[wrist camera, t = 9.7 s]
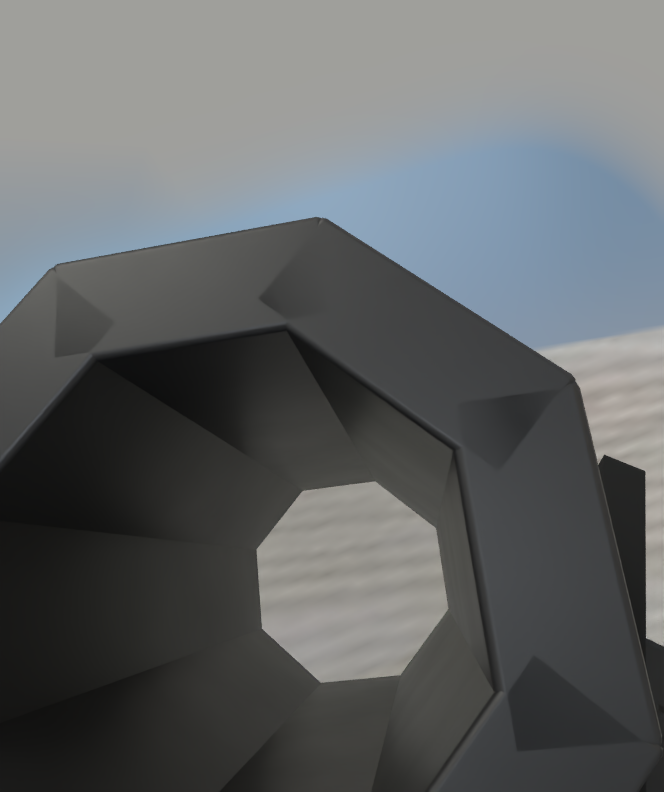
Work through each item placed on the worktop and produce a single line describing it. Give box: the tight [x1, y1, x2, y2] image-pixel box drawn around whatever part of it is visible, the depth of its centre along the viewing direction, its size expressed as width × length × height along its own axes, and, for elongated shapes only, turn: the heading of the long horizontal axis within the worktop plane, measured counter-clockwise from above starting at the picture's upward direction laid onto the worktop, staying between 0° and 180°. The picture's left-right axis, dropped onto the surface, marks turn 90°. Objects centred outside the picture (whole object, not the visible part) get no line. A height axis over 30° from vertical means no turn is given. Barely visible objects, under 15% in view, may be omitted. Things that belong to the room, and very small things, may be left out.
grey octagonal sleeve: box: [0, 217, 663, 792], centre depth 11 cm, size 7×7×11 cm
